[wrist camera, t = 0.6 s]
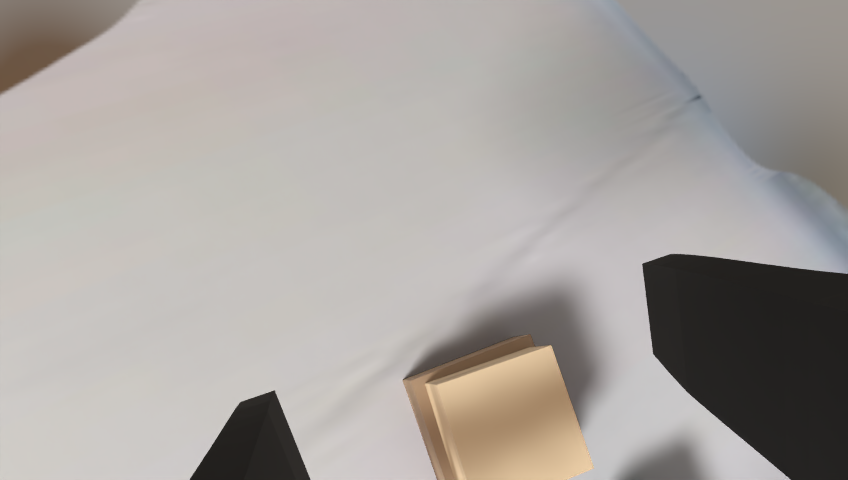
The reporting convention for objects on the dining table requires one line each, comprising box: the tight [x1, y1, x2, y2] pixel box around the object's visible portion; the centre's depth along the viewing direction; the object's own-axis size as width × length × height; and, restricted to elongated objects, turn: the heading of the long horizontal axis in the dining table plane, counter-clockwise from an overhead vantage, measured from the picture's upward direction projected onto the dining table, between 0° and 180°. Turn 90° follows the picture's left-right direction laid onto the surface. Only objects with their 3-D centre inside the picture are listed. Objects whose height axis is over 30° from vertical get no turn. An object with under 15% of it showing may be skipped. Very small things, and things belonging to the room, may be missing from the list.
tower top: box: [425, 345, 594, 480], centre depth 28 cm, size 6×6×3 cm
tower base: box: [403, 334, 535, 480], centre depth 31 cm, size 7×7×3 cm
